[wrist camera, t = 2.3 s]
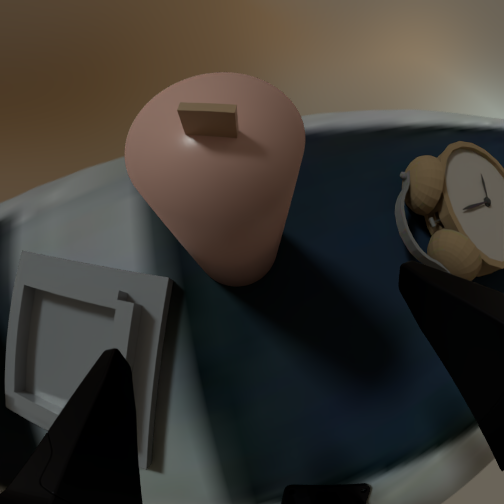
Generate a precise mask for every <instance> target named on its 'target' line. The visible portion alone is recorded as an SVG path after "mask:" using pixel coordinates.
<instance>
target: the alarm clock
mask: <svg viewBox="0 0 504 504" xmlns="http://www.w3.org/2000/svg"><path fill="white" fill-rule="evenodd" d="M400 177H401V179H403V182H402V191H401V192H400V194H399V196H398V198H397V201H396V205H395V217H396V224H397V227H398V230H399V234H400V236H401V238H402V240H403V242H404V244H405V245H406V247H407V248H408V250H409V251H410V253H411V254H412V255H413V256H414V257H415V258H416V259H417V260H419V261H420V262H422V263H423V264H425V265H427V266H430V267H433V268H436V269H439V270H442V271H444V272H447V273H450V274H453V275H456V276H458V277H461V278H464V279H467V280H469V281H471V280H473V279H474V278H475V277H476V276H477V277H480V276H484V275H487V274H491V273H493V272H494V271H497V270H500V269H503V268H504V169H503V167H502V166H501V165H500V164H499V162H498V161H497V160H496V159H495V158H494V157H492V156H491V155H490V154H489V153H488V152H487V151H486V150H484V149H482V148H480V147H479V146H477V145H475V144H473V143H469V142H462V141H458V142H456V143H453V144H450V145H449V146H448V147H447V148H446V149H445V151H444V152H443V153H442V154H441V155H440V156H438V157H437V158H435V157H433V156H428V155H425V156H420V157H417V158H416V159H414V160H413V161H412V162H411V163H410V164H409V166H408V167H407V169H406V171H405V172H401V173H400ZM404 200H405V203H406V205H407V206H408V207H409V208H410V209H411V210H412V211H413V212H415V213H416V214H419V215H423V216H424V217H425V221H426V224H427V228H428V230H429V231H430V233H431V235H432V237H431V239H430V241H429V244H428V248H427V254H426V253H425V252H424V251H423V250H422V249H421V248H420V247H419V245H418V244H417V242H416V241H415V239H414V238H413V236H412V234H411V232H410V230H409V227H408V224H407V221H406V217H405V211H404Z"/></svg>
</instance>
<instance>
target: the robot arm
mask: <svg viewBox="0 0 504 504" xmlns="http://www.w3.org/2000/svg"><path fill="white" fill-rule="evenodd" d="M399 290H400V292H401V294H402V296H403V298H404V300H405V301H406V303H407V305H408V307H409V309H410V310H411V312H412V314H413V316H414V318H415V320H416V322H417V323H418V325H419V327H420V329H421V330H422V332H423V333H424V335H425V336H426V338H427V339H428V341H429V342H430V344H431V346H432V347H433V349H434V350H435V352H436V353H437V355H438V356H439V358H440V360H441V361H442V363H443V364H444V366H445V368H446V369H447V371H448V372H449V374H450V376H451V377H452V379H453V381H454V382H455V384H456V386H457V387H458V389H459V391H460V393H461V394H462V396H463V398H464V400H465V401H466V403H467V405H468V407H469V408H470V410H471V412H472V414H473V416H474V417H475V419H476V421H477V423H478V424H479V427H480V429H481V431H482V433H483V435H484V437H485V439H486V441H487V443H488V445H489V447H490V449H491V451H492V453H493V455H494V457H495V459H496V461H497V463H498V465H499V468H500V469H501V471H503V470H504V294H503V293H501V292H499V291H496V290H493V289H491V288H488V287H485V286H483V285H480V284H477V283H475V282H472V281H469V280H467V279H464V278H461V277H458V276H456V275H453V274H450V273H447V272H444V271H442V270H439V269H436V268H433V267H430V266H427V265H424V264H421V263H419V262H416V261H408V262H406V263H403V264H402V265H401V266H400V274H399ZM363 488H365V490H363V491H361V490H362V489H363ZM290 490H295V491H294V492H291V493H290V492H289V491H290ZM369 492H370V487H369V485H368V484H366V483H362V484H346V485H289V486H287V487H286V488H285V489H284V493H283V498H282V502H281V504H366V501H367V498H368V495H369ZM0 504H142V495H141V486H140V474H139V461H138V444H137V417H136V406H135V398H134V389H133V380H132V370H131V367H130V365H129V363H128V362H127V360H126V359H125V358H124V356H123V355H122V354H121V352H120V351H119V350H118V349H117V348H112V349H107V350H105V351H104V352H103V353H102V354H101V356H100V357H99V358H98V360H97V361H96V363H95V364H94V365H93V367H92V368H91V369H90V371H89V372H88V374H87V375H86V376H85V378H84V379H83V381H82V382H81V383H80V385H79V386H78V388H77V389H76V391H75V392H74V393H73V395H72V396H71V398H70V399H69V401H68V402H67V403H66V405H65V406H64V408H63V409H62V411H61V412H60V414H59V415H58V417H57V418H56V420H55V421H54V423H53V424H52V426H51V427H50V429H49V430H48V433H46V435H45V436H44V438H43V439H42V441H41V442H40V444H39V445H38V447H37V448H36V450H35V451H34V453H33V454H32V455H31V457H30V458H29V460H28V461H27V462H26V464H25V465H24V466H23V468H22V469H21V470H20V472H19V473H18V474H17V476H16V477H15V478H14V480H13V481H12V482H11V484H10V485H9V486H8V488H7V489H6V490H5V491H3V492H2V493H1V494H0Z"/></svg>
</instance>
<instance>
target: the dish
mask: <svg viewBox="0 0 504 504" xmlns="http://www.w3.org/2000/svg"><path fill="white" fill-rule="evenodd" d="M172 286H173V280H172V279H170V278H168V277H161V276H155V275H149V274H143V273H137V272H131V271H126V270H120V269H114V268H109V267H103V266H98V265H92V264H87V263H82V262H76V261H71V260H66V259H61V258H56V257H51V256H46V255H41V254H36V253H31V252H27V251H22V252H21V256H20V261H19V265H18V270H17V274H16V278H15V283H14V289H13V295H12V301H11V308H10V315H9V324H8V333H7V345H6V361H5V399H6V407H7V408H9V409H10V410H12V411H13V412H15V413H17V414H18V415H20V416H22V417H24V418H25V419H27V420H29V421H31V422H32V423H34V424H36V425H38V426H40V427H42V428H44V429H46V430H49V429H50V427H51V426H52V424H53V423H54V421H55V420H56V418H57V417H58V415H59V414H60V412H61V411H62V409H63V408H64V406H65V405H66V403H67V402H68V401H69V399H70V398H71V396H72V395H73V393H74V392H75V391H76V389H77V388H78V386H79V385H80V383H81V382H82V381H83V379H84V378H85V376H86V375H87V374H88V372H89V371H90V369H91V368H92V367H93V365H94V364H95V363H96V361H97V360H98V358H99V357H100V356H101V354H102V353H103V352H104V351H105V350H107V349H112V348H117V349H118V350H119V351H120V352H121V354H122V355H123V356H124V358H125V359H126V360H127V362H128V363H129V365H130V367H131V370H132V380H133V389H134V398H135V406H136V417H137V444H138V461H139V468H142V469H145V470H147V468H148V467H149V466H150V465H151V463H152V447H153V434H154V422H155V411H156V401H157V391H158V382H159V374H160V366H161V358H162V350H163V343H164V336H165V329H166V322H167V316H168V310H169V303H170V297H171V291H172Z"/></svg>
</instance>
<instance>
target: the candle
mask: <svg viewBox="0 0 504 504" xmlns="http://www.w3.org/2000/svg"><path fill="white" fill-rule="evenodd" d="M304 147H305V130H304V125H303V121H302V119H301V116H300V114H299V112H298V110H297V108H296V107H295V105H294V104H293V103H292V101H291V100H290V99H289V98H288V97H287V96H286V95H285V94H284V93H283V92H282V91H280V90H279V89H278V88H276V87H275V86H273V85H271V84H269V83H268V82H266V81H263V80H261V79H258V78H256V77H252V76H249V75H244V74H239V73H228V72H223V73H222V72H217V73H208V74H202V75H197V76H194V77H190V78H187V79H185V80H182V81H179V82H177V83H175V84H173V85H171V86H169V87H168V88H166V89H165V90H163V91H161V92H160V93H159V94H157V95H156V96H155V97H154V98H152V99H151V100H150V101H149V102H148V103H147V104H146V105H145V106H144V108H143V109H142V110H141V111H140V112H139V114H138V115H137V117H136V118H135V120H134V121H133V124H132V126H131V128H130V130H129V133H128V136H127V139H126V145H125V163H126V168H127V172H128V175H129V177H130V179H131V181H132V183H133V185H134V186H135V188H136V189H137V190H138V191H139V193H140V194H141V195H142V197H143V198H144V199H145V200H146V202H147V203H148V204H149V205H150V207H151V208H152V209H153V210H154V211H155V213H156V214H157V215H158V216H159V218H160V219H161V220H162V221H163V222H164V224H165V225H166V226H167V227H168V229H169V230H170V231H171V232H172V233H173V235H174V236H175V237H176V238H177V239H178V241H179V242H180V243H181V244H182V245H183V247H184V248H185V249H186V250H187V251H188V252H189V254H190V255H191V256H192V257H193V258H194V259H195V261H196V262H197V263H198V264H199V265H200V266H201V268H202V269H203V270H204V271H205V272H206V273H207V275H209V276H210V277H211V278H212V279H213V280H215V281H217V282H219V283H221V284H224V285H227V286H234V287H239V286H246V285H249V284H252V283H254V282H256V281H258V280H260V279H261V278H262V277H264V276H265V275H266V274H267V273H268V271H269V270H270V269H271V267H272V266H273V264H274V261H275V258H276V255H277V252H278V248H279V244H280V241H281V237H282V233H283V230H284V226H285V222H286V218H287V215H288V211H289V207H290V203H291V199H292V196H293V192H294V188H295V184H296V180H297V176H298V172H299V169H300V165H301V161H302V157H303V153H304Z"/></svg>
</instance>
